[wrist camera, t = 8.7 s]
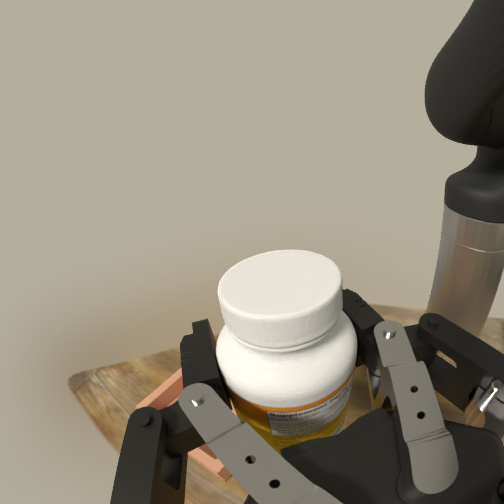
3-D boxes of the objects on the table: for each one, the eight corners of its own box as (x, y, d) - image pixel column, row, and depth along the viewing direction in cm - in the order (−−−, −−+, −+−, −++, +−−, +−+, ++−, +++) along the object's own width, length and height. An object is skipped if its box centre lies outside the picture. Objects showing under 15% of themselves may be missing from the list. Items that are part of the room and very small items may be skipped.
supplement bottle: (242, 396, 15) (199, 255, 11) (327, 378, 15) (328, 231, 11) (250, 473, 10) (186, 351, 6) (354, 449, 10) (398, 305, 6)
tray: (213, 360, 33) (207, 344, 32) (294, 397, 26) (293, 382, 25) (146, 419, 25) (135, 406, 23) (225, 481, 18) (217, 473, 16)
